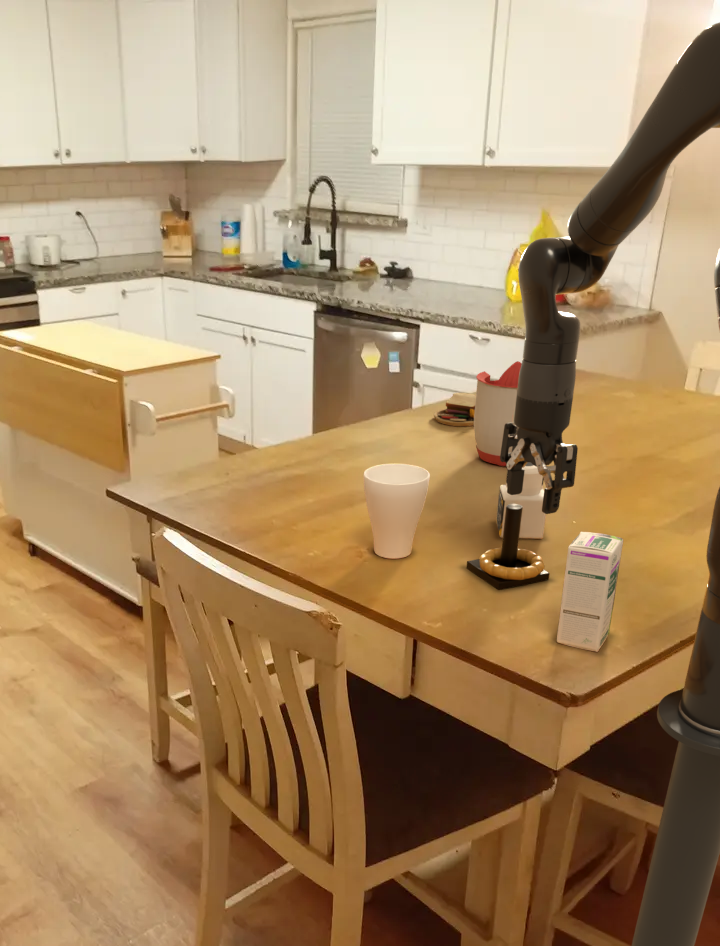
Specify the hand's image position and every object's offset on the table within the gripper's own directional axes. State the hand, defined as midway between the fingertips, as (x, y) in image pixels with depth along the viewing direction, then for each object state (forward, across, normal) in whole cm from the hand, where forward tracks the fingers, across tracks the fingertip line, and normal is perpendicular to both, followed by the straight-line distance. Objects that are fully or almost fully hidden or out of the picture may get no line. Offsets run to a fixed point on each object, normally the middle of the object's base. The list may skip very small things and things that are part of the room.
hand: (531, 503), depth 139 cm
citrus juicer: (+13, -53, +33) cm, 64 cm away
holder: (+13, -4, 0) cm, 14 cm away
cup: (+13, -19, -12) cm, 26 cm away
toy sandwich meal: (+13, -82, +40) cm, 92 cm away
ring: (+11, -3, 0) cm, 11 cm away
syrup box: (+13, +18, -3) cm, 23 cm away
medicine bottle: (+13, -18, +12) cm, 25 cm away
